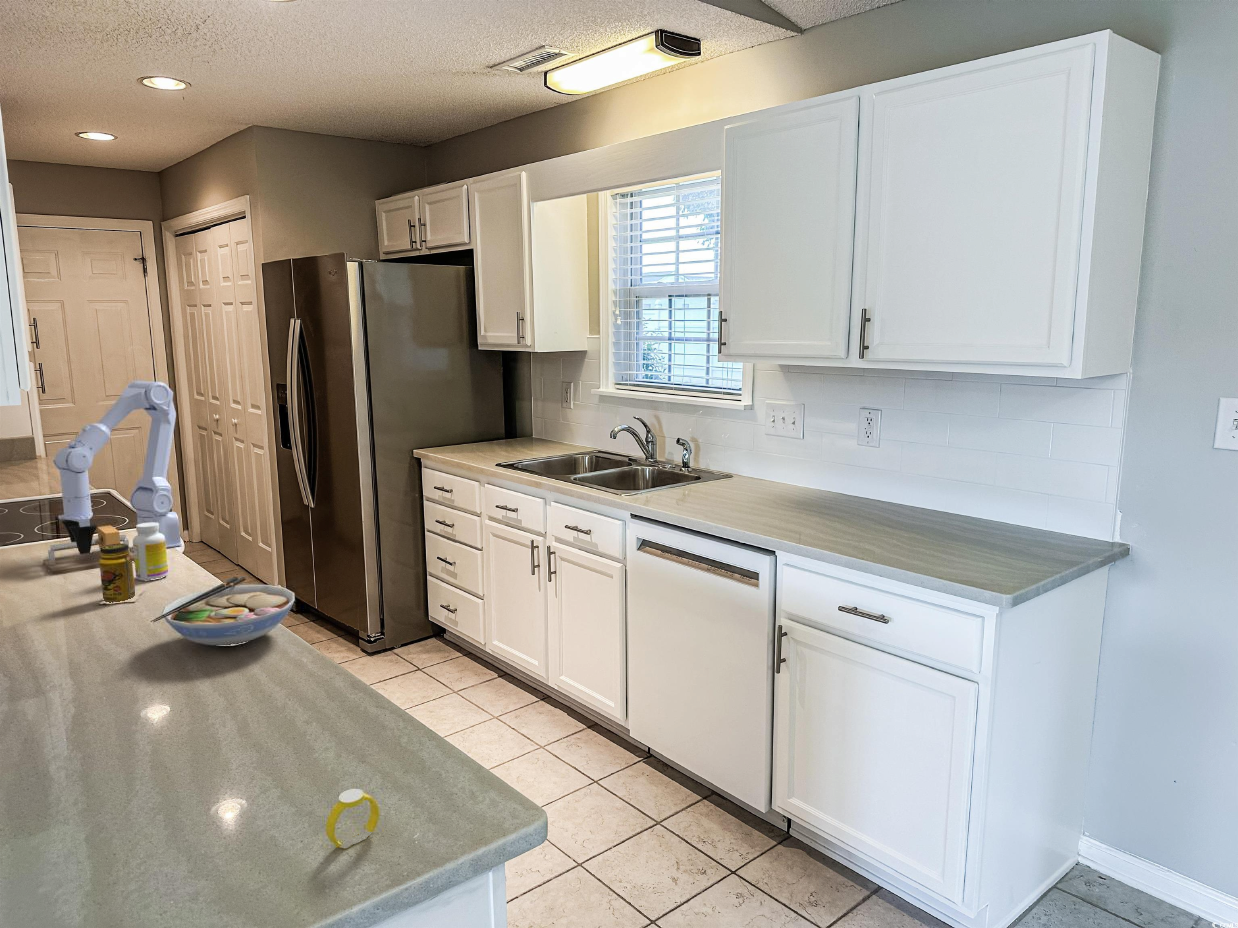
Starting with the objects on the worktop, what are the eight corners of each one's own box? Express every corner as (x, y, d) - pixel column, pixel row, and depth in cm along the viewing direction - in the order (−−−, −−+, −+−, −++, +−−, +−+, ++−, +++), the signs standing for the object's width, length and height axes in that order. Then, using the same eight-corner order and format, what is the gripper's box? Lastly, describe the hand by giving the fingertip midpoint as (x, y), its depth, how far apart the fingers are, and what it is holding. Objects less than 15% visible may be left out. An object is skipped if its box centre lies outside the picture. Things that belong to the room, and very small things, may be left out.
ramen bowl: (245, 671, 144) (242, 626, 143) (130, 660, 148) (126, 616, 147) (324, 622, 168) (321, 582, 167) (223, 613, 173) (220, 575, 171)
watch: (337, 860, 94) (331, 813, 93) (325, 849, 96) (319, 803, 95) (384, 833, 98) (379, 788, 97) (372, 823, 100) (366, 779, 99)
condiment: (96, 606, 177) (91, 551, 175) (107, 593, 185) (102, 541, 183) (135, 602, 179) (130, 548, 177) (144, 591, 187) (140, 538, 185)
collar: (112, 546, 216) (110, 525, 215) (121, 553, 209) (119, 531, 208) (99, 548, 214) (97, 526, 213) (107, 555, 207) (105, 533, 206)
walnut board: (125, 550, 220) (125, 547, 219) (138, 561, 210) (137, 557, 210) (43, 563, 208) (42, 559, 207) (52, 575, 198) (52, 571, 198)
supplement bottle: (174, 574, 200) (170, 521, 198) (156, 582, 193) (152, 528, 191) (148, 573, 200) (143, 520, 198) (129, 581, 194) (124, 527, 192)
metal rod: (128, 551, 215) (126, 533, 214) (129, 553, 214) (128, 534, 213) (49, 564, 204) (47, 544, 203) (50, 565, 202) (48, 545, 202)
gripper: (51, 493, 207) (56, 547, 210) (62, 503, 197) (68, 558, 199) (84, 490, 212) (89, 542, 214) (97, 499, 202) (102, 553, 204)
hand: (81, 550), depth 207 cm, fingers open, 7 cm apart
